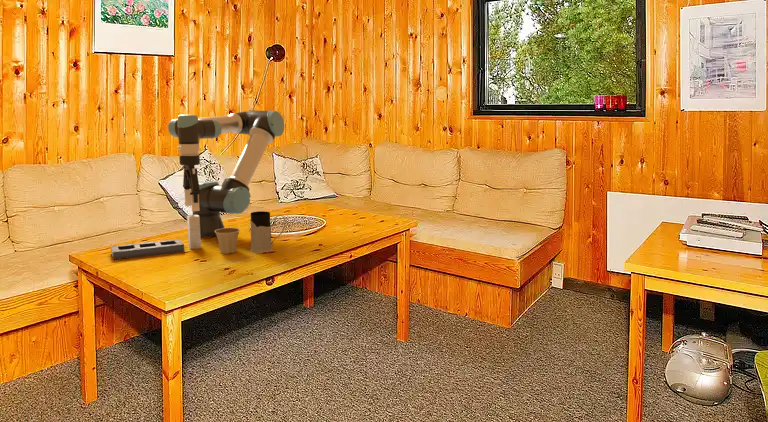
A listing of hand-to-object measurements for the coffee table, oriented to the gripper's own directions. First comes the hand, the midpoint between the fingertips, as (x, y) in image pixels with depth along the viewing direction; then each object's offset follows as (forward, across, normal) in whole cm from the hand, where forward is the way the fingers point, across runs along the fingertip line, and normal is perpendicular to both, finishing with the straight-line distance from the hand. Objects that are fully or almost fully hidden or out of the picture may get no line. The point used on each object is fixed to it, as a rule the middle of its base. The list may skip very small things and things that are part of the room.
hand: (192, 208), depth 218 cm
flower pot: (+16, +13, +10) cm, 23 cm away
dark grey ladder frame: (+16, 0, -17) cm, 24 cm away
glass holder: (+16, +17, +25) cm, 34 cm away
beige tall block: (+16, 0, 0) cm, 16 cm away
